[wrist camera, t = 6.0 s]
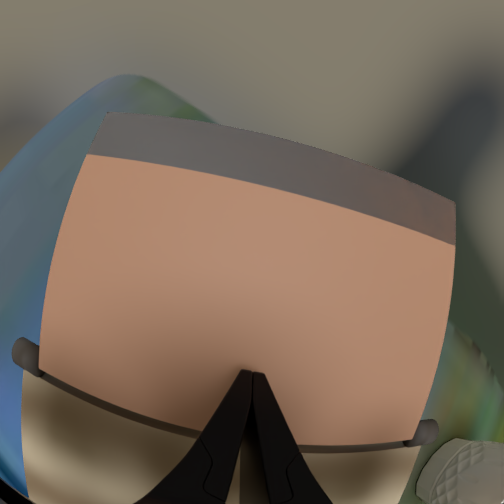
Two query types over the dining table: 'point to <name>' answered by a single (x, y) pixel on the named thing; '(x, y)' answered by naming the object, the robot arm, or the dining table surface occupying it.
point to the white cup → (464, 474)
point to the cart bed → (166, 449)
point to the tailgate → (248, 280)
